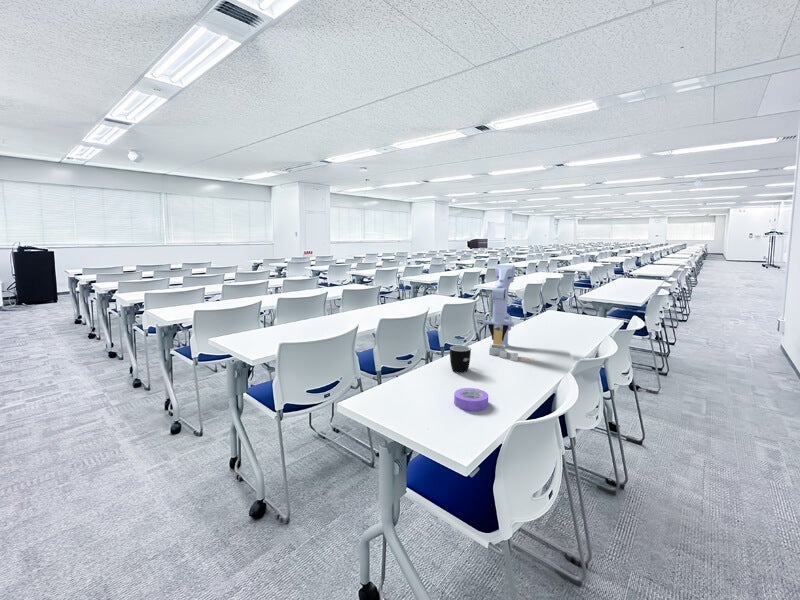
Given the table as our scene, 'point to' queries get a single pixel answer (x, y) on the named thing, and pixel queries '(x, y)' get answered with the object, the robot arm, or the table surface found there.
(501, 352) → the cable board
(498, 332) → the connector plug
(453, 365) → the mug
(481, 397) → the masking tape
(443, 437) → the table surface
